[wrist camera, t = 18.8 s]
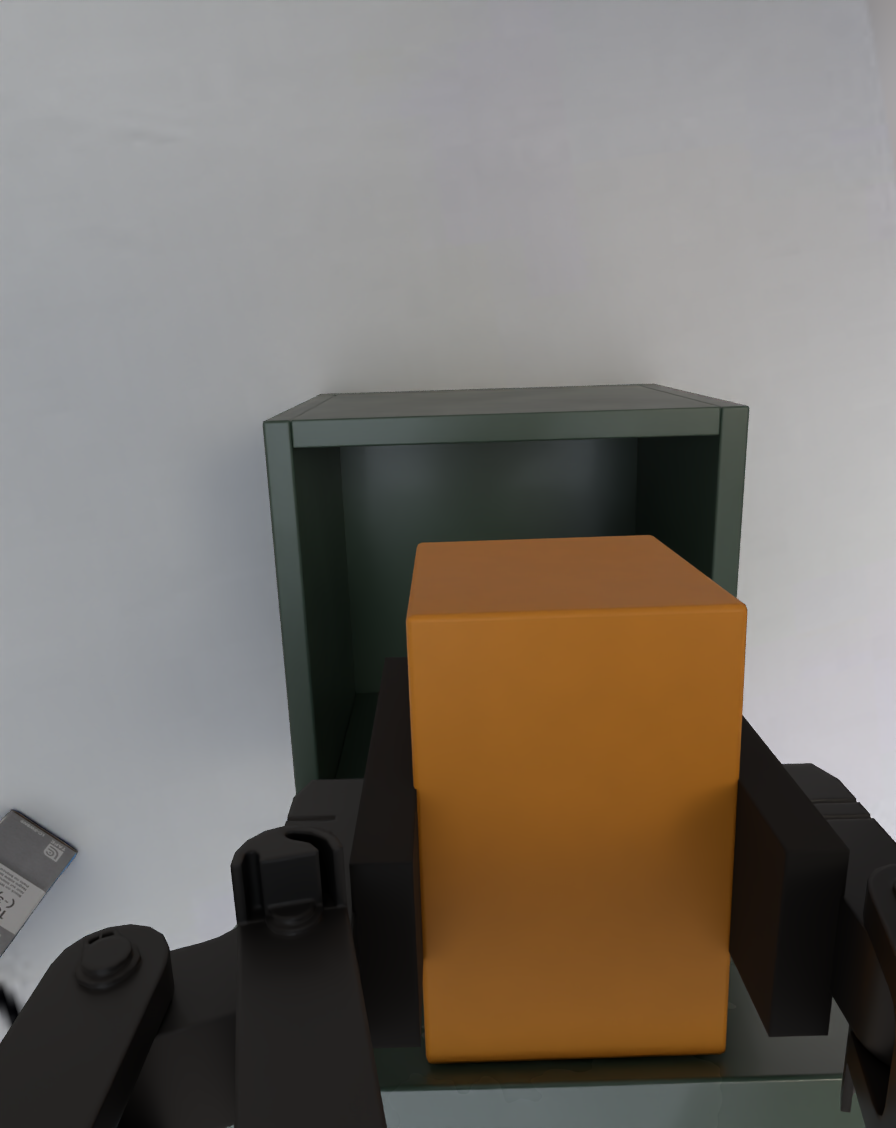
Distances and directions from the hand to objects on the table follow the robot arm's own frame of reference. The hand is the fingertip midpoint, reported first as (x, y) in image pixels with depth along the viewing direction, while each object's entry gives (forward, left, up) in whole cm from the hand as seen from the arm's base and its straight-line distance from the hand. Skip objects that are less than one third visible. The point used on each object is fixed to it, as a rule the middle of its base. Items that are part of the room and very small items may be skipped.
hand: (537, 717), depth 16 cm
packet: (0, 0, 0) cm, 0 cm away
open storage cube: (+2, 0, -19) cm, 19 cm away
